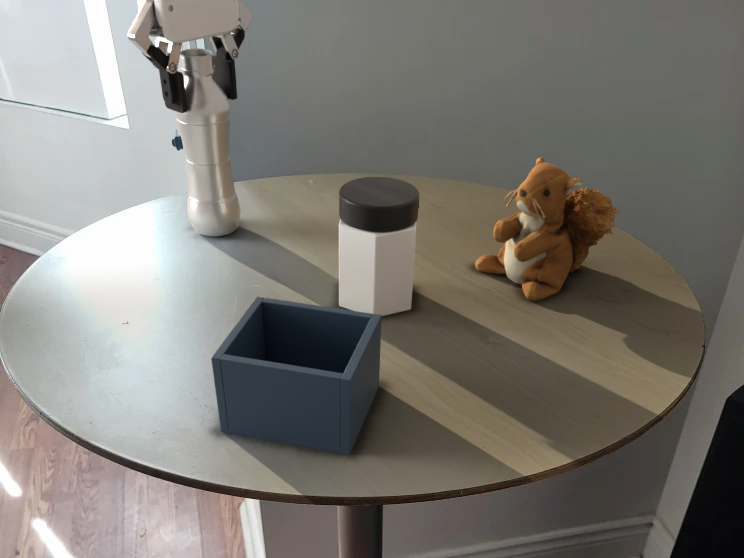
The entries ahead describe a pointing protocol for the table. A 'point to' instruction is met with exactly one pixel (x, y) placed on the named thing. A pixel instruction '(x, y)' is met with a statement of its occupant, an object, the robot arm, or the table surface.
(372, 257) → the jar
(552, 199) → the stuffed squirrel
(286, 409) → the bin
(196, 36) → the robot arm
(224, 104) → the silver metal bottle
